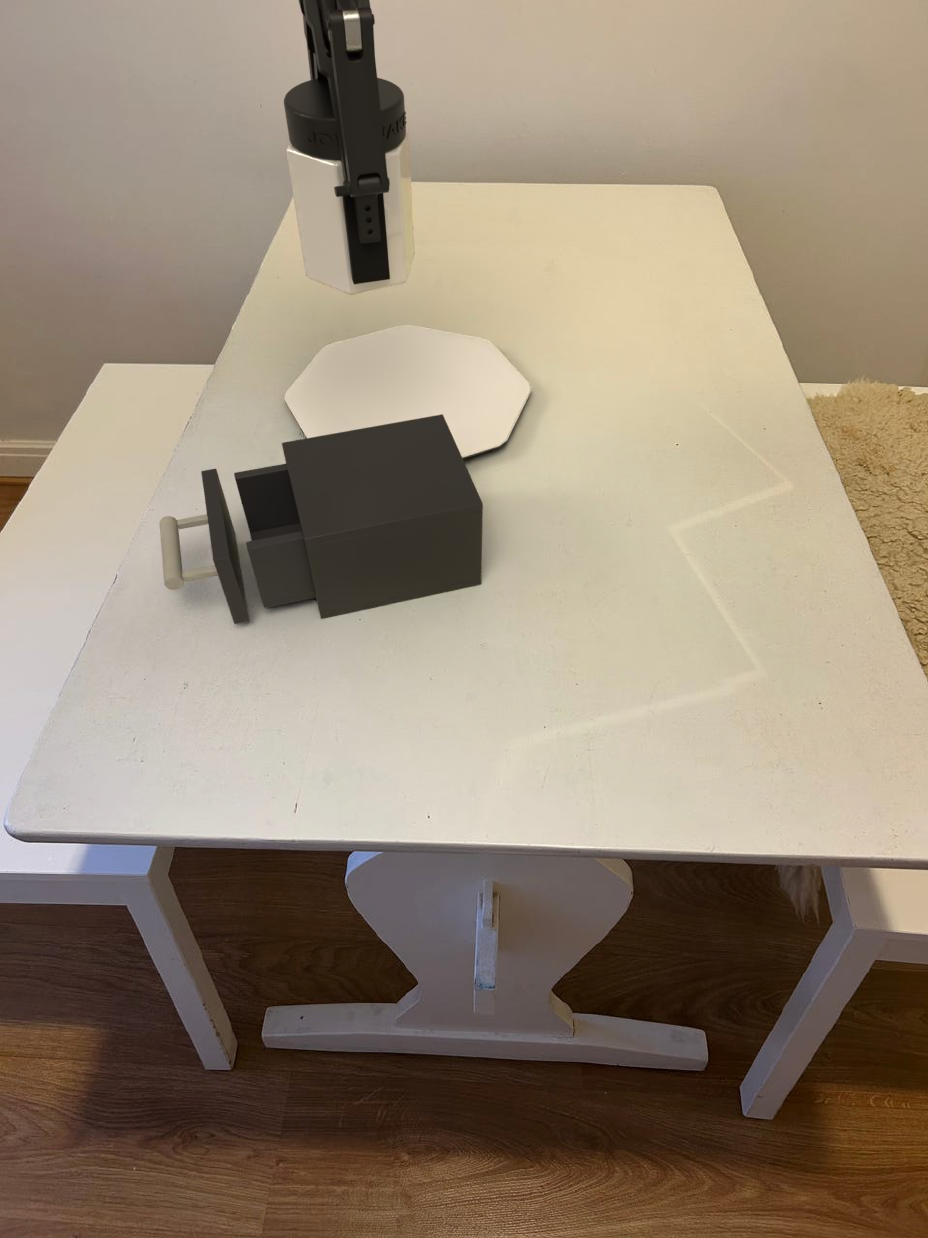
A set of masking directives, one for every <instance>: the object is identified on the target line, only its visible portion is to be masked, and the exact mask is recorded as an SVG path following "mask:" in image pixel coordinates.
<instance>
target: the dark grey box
mask: <svg viewBox="0 0 928 1238" xmlns="http://www.w3.org/2000/svg"><path fill="white" fill-rule="evenodd" d="M281 447H282V451H283V456H284V461H285V464H287V468H288V473H289V477H290V481H291V485H292V490H293V494H294V498H295V502H296V507H297V511H298V515H299V519H300V523H301V528H302V532H303V536H304V540H305V545H306V550H307V555H308V560H309V565H310V569H311V574H312V579H313V584H314V589H315V593H316V598H315V600H316V603H317V609H318V612H319V617H320V619H321V620H323V619H327V618H332V617H337V616H341V615H346V614H350V613H355V612H360V611H364V610H369V609H373V608H374V609H375V608H378V607H383V606H387V605H391V604H392V605H393V604H396V603H401V602H406V601H410V600H411V601H412V600H415V599H420V598H424V597H429V596H433V595H434V596H435V595H438V594H442V593H447V592H453V591H456V590H461V589H466V588H470V587H476V586H479V585H481V584H482V563H483V562H482V561H483V518H484V517H483V515H484V503H483V501H482V499H481V497H480V494H479V492H478V490H477V487H476V486H475V483H474V481H473V479H472V476H471V474H470V471H469V469H468V467H467V465H466V463H465V461H464V459H463V458H462V456H461V454H460V452H459V449H458V447H457V445H456V443H455V440H454V438H453V436H452V434H451V432H450V429H449V427H448V425H447V423H446V420H445V418H444V416H443V414H441V415H436V416H430V417H424V418H419V419H413V420H407V421H402V422H396V423H391V424H385V425H379V426H374V427H368V428H362V429H357V430H351V431H345V432H340V433H334V434H328V435H323V436H317V437H312V438H306V437H305V438H300V439H296V440H290V441H289V440H288V441H285V442H281Z"/></svg>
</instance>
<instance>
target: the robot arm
mask: <svg viewBox="0 0 928 1238" xmlns="http://www.w3.org/2000/svg"><path fill="white" fill-rule="evenodd" d="M298 4H299V8H300V12H301V14H302V21H303V34H304V38H305V41H306V50H307V58H308V59H307V60H308V67H309V68H308V69H309V77H310V80H313V79H317V80H328V84H329V90H330V96H331V102H332V108H333V115H334V117H335V121H336V129H337V138H338V146H339V152H340V158H341V164H342V170H343V177H344V182H343V186H336V187H334V191H335V195H336V197H342V196H343V205H344V214H345V222H346V231H347V240H348V248H349V257H350V266H351V274H352V281H353V283H354V284H361V283H368V282H375V281H381V280H388V279H390V272H389V259H388V246H387V234H386V221H385V208H384V196H383V193H387V192H389V186H390V182H389V178H388V175H387V166H386V156H385V147H384V137H383V128H382V118H381V109H380V99H379V90H378V80H377V78H378V72H377V63H376V62H377V61H376V53H375V52H376V51H375V49H376V48H375V35H374V34H375V32H374V31H375V30H374V26H375V23H376V22H375V21H376V20H375V14H374V13H373V11H372V7H371V1H370V0H298Z"/></svg>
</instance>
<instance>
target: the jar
mask: <svg viewBox="0 0 928 1238" xmlns="http://www.w3.org/2000/svg"><path fill="white" fill-rule="evenodd" d="M377 80H378V90H379V99H380V109H381V118H382V128H383V137H384V147H385V156H386V166H387V175H388V178H389V182H390V186H389V192H387V193H383V196H384V208H385V221H386V234H387V246H388V259H389V272H390V279H388V280H381V281H375V282H368V283H361V284H354V283H353V281H352V274H351V266H350V257H349V248H348V240H347V231H346V222H345V214H344V205H343V196H342V197H336V195H335V191H334V187H336V186H343V182H344V177H343V170H342V164H341V158H340V152H339V146H338V138H337V129H336V121H335V117H334V115H333V108H332V102H331V96H330V90H329V84H328V80H317V79H313V80H311V79H309V80H306V81H304V82H301V83H299V84H297V85H295V86H294V87H292V88H291V89H290V90H288V91H287V92H286V94H285V96H284V98H283V107H284V112H285V113H284V114H285V120H286V126H287V134H288V138H289V143H288V146H287V147H286V149H285V151H286V152H285V154H286V158H287V165H288V171H289V177H290V183H291V184H290V185H291V191H292V196H293V203H294V209H295V216H296V221H297V228H298V234H299V235H298V236H299V241H300V249H301V254H302V259H303V267H304V273H305V277H306V278H307V279H308V280H311V281H314V282H317V283H319V284H322V285H323V286H327V287H329V288H332V289H334V290H336V291H339V292H342V293H344V294H346V295H349V296H354V295H358V294H362V293H367V292H371V291H376V290H381V289H384V288H389V287H392V286H397V285H402V284H405V283H407V281H408V278H409V275H410V271H411V267H412V264H413V261H414V258H415V254H416V250H415V249H416V248H415V232H414V231H415V230H414V209H413V190H412V174H411V173H412V172H411V170H412V169H411V152H410V151H411V150H410V134H409V133H410V132H409V127H408V126H407V115H406V114H407V112H406V107H405V94H404V92H403V90H402V88H400V86H399V85H397V84H396V83H393V82H392V81H390V80H387V79H384V78H380V77H377Z"/></svg>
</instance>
